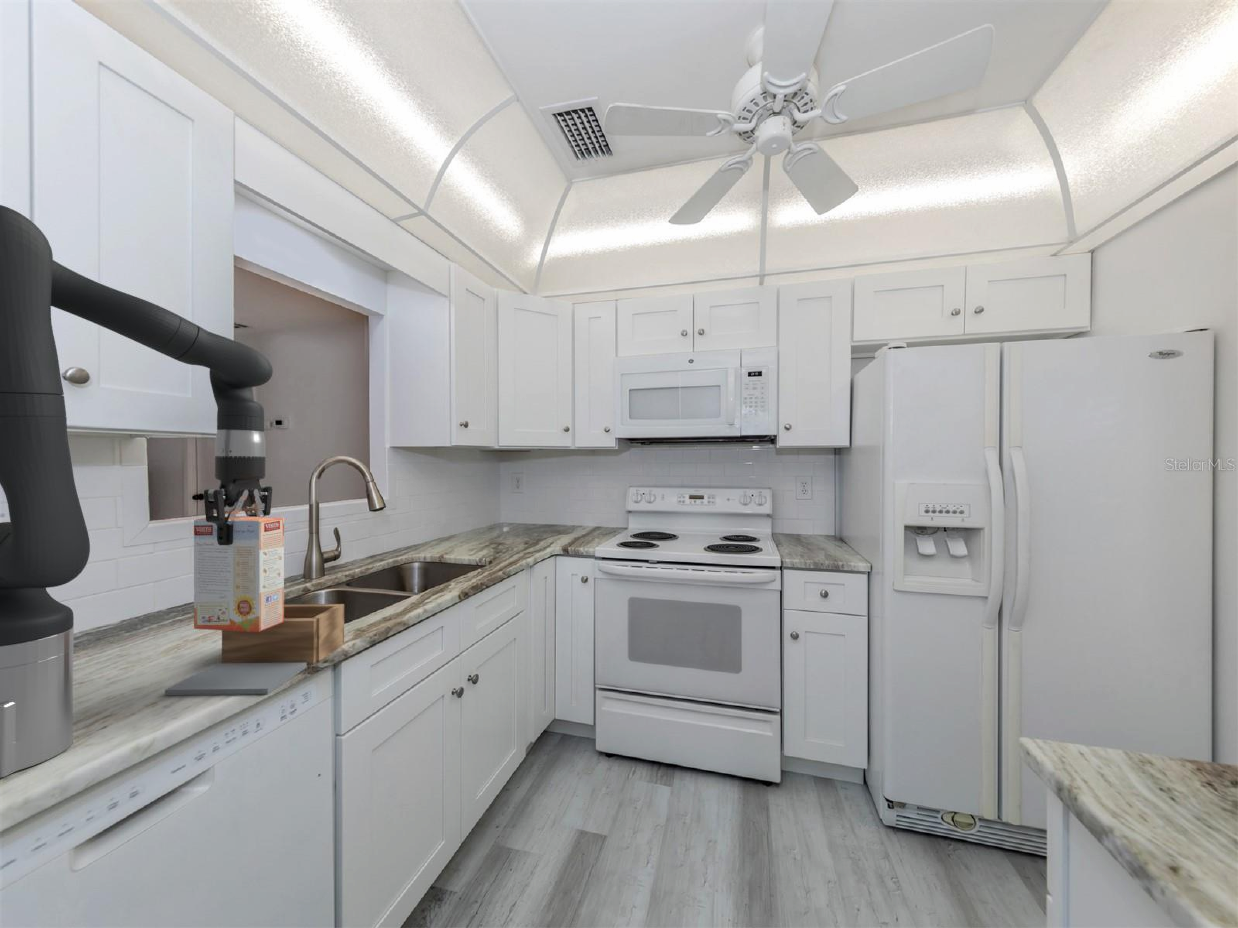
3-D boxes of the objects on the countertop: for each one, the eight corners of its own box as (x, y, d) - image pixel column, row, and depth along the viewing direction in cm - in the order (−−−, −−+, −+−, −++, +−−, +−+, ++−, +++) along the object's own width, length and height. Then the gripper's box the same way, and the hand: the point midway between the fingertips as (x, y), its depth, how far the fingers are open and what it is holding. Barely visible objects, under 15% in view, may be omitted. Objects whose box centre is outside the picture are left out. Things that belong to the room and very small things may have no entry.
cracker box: (286, 622, 91) (286, 516, 91) (258, 634, 85) (258, 520, 85) (223, 618, 93) (223, 514, 93) (192, 629, 87) (191, 518, 87)
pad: (267, 694, 84) (267, 688, 84) (164, 695, 83) (164, 689, 83) (306, 667, 95) (306, 662, 95) (215, 668, 94) (216, 663, 94)
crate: (315, 663, 97) (315, 620, 97) (219, 664, 96) (220, 621, 96) (345, 642, 108) (346, 604, 108) (260, 643, 107) (260, 604, 107)
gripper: (231, 454, 82) (230, 548, 82) (286, 455, 96) (285, 536, 96) (187, 453, 82) (186, 548, 82) (249, 455, 96) (248, 536, 96)
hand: (240, 541), depth 89 cm, fingers closed on cracker box, 6 cm apart
